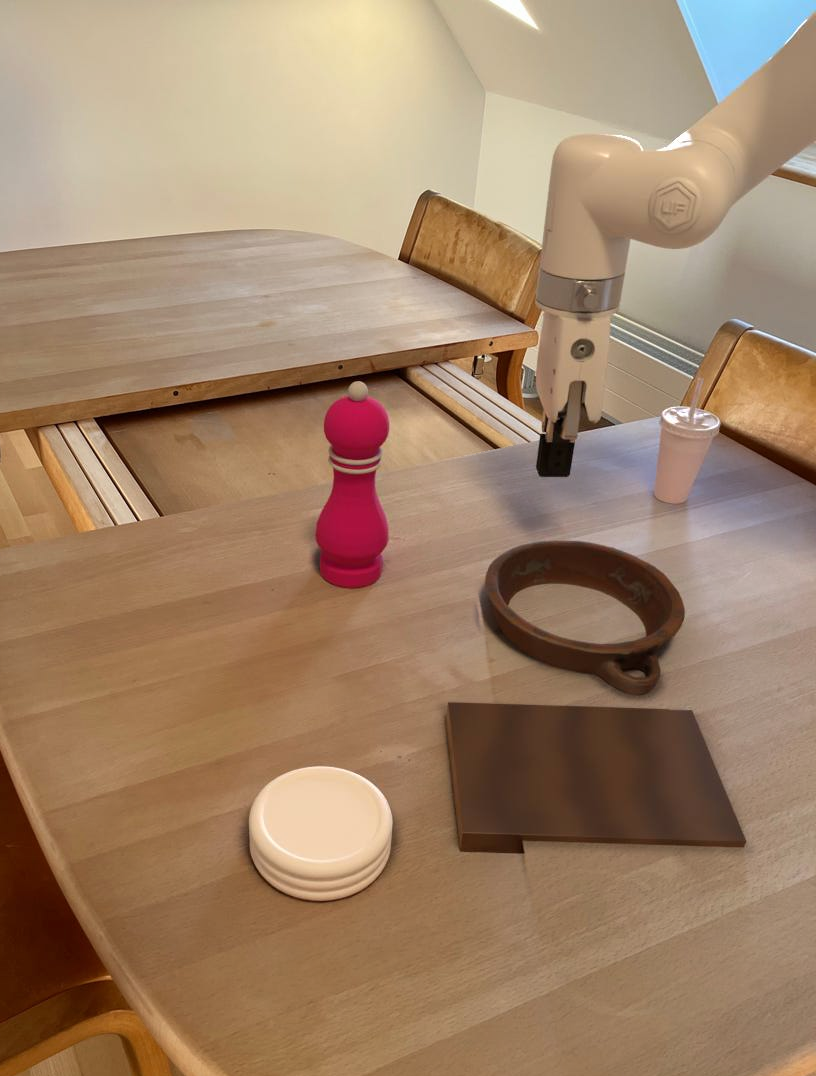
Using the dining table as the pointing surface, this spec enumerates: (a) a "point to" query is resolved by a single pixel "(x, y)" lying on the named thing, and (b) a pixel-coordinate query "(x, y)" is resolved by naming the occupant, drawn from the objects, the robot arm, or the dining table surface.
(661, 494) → the smoothie
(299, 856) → the coaster
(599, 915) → the dining table surface
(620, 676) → the dish
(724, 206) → the robot arm
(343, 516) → the pepper mill
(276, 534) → the dining table surface
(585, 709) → the cutting board
